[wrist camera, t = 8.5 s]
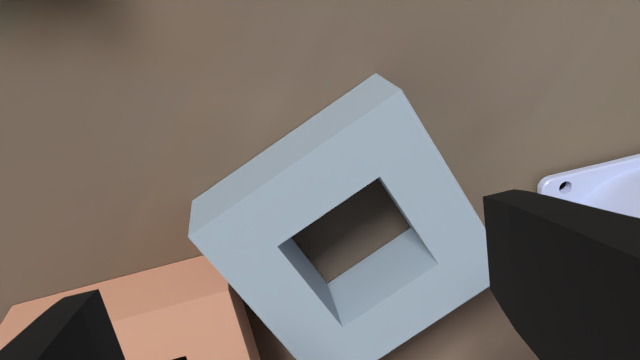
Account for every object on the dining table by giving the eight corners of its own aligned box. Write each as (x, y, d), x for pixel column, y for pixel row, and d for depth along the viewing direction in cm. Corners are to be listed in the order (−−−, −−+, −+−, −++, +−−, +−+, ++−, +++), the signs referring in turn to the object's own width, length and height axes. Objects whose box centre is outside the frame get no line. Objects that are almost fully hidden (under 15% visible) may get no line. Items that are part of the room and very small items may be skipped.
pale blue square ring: (375, 72, 20) (401, 89, 17) (476, 235, 23) (511, 271, 20) (192, 201, 20) (188, 237, 18) (313, 343, 23) (326, 393, 21)
